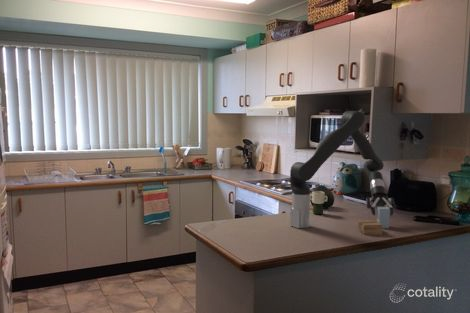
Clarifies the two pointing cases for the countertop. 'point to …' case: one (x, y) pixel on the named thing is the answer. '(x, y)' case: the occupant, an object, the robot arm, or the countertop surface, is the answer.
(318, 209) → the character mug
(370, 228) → the layered tan block
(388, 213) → the grey pillar block
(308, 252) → the countertop surface
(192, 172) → the countertop surface
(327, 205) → the squash
